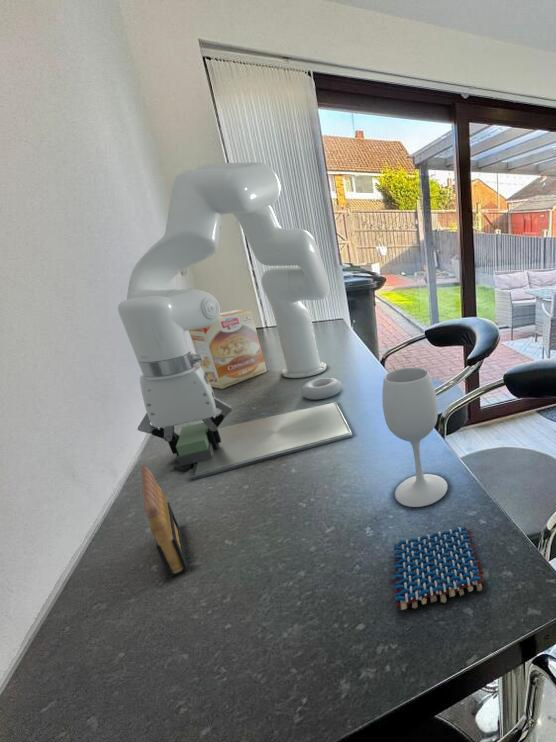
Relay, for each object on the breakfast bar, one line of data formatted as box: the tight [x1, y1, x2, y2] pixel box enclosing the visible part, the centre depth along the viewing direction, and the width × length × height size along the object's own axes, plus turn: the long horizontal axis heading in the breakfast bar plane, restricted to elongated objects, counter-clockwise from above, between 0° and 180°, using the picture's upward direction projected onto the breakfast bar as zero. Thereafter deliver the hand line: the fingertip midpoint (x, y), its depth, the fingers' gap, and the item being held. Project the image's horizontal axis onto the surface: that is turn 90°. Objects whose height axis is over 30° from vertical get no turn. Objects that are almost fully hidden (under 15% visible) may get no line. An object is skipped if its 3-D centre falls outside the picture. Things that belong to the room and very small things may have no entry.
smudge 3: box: [173, 463, 193, 473], centre depth 75 cm, size 3×1×1 cm, turn 70°
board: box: [190, 401, 354, 481], centre depth 86 cm, size 20×28×1 cm
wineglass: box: [381, 366, 448, 508], centre depth 63 cm, size 9×9×21 cm
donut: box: [300, 377, 342, 401], centre depth 107 cm, size 10×4×10 cm
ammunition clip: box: [141, 465, 189, 578], centre depth 53 cm, size 11×2×12 cm, turn 42°
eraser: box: [176, 422, 214, 466], centre depth 79 cm, size 10×5×4 cm, turn 32°
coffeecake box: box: [188, 309, 268, 390], centre depth 117 cm, size 15×7×20 cm, turn 160°
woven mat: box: [393, 526, 485, 611], centre depth 51 cm, size 10×11×2 cm
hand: (198, 449), depth 80 cm, fingers closed on eraser, 5 cm apart
